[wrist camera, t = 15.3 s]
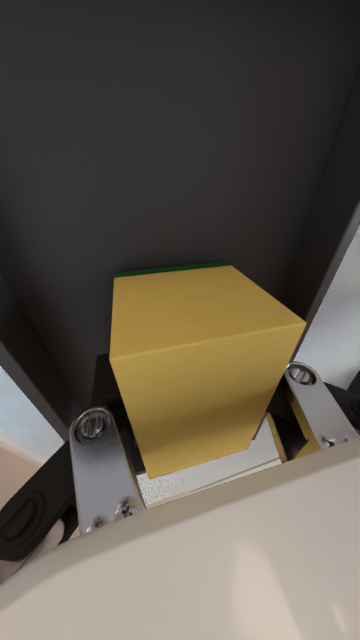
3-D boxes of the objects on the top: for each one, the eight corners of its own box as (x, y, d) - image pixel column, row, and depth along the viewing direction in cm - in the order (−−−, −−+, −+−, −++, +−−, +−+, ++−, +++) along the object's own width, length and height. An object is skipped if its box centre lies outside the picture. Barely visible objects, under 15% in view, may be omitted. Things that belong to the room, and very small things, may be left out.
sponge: (114, 271, 8) (108, 359, 4) (225, 260, 9) (308, 323, 5) (139, 387, 13) (148, 480, 9) (211, 372, 14) (247, 449, 10)
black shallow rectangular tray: (-274, -167, 3) (-983, -791, 1) (387, -15, 6) (529, -120, 4) (103, 451, 18) (101, 486, 16) (241, 414, 21) (254, 439, 19)
